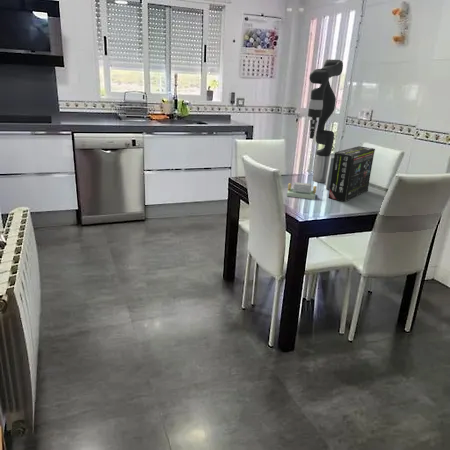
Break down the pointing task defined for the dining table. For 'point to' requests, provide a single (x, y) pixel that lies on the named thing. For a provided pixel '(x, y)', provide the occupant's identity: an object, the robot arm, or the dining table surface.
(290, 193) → the tray
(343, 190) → the router box
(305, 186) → the block
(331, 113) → the robot arm
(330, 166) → the hard drive box
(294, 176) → the dining table surface
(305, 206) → the dining table surface
